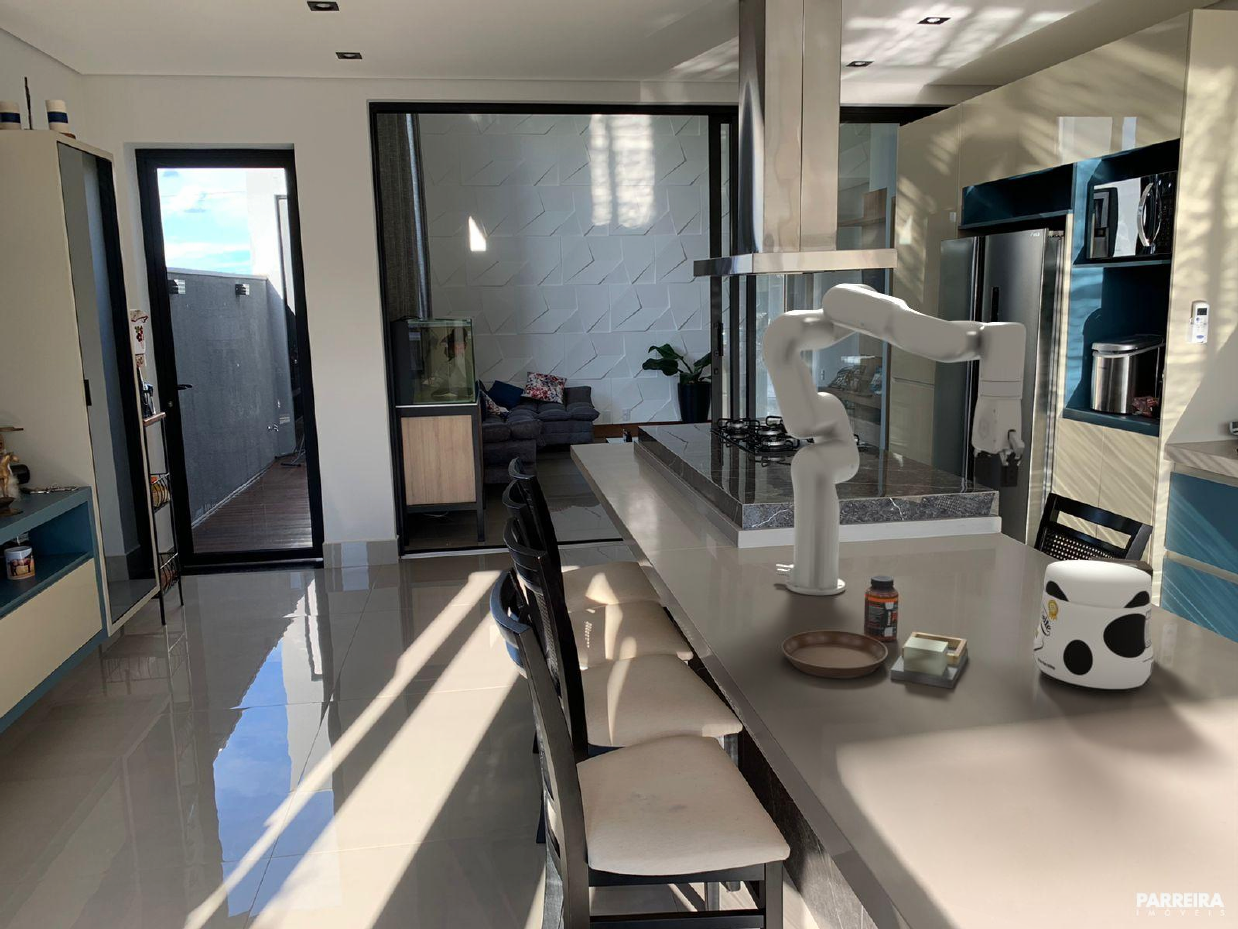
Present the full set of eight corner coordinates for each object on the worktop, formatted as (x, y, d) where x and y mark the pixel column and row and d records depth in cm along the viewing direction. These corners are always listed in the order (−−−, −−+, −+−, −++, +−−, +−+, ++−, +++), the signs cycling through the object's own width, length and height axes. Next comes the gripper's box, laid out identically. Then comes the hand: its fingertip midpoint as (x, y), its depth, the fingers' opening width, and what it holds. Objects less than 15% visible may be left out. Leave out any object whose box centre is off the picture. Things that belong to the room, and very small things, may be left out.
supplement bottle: (898, 643, 170) (900, 583, 169) (864, 641, 172) (866, 581, 170) (895, 632, 176) (897, 574, 174) (862, 630, 177) (864, 572, 176)
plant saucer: (805, 688, 152) (805, 670, 151) (766, 650, 169) (767, 634, 168) (906, 679, 155) (907, 661, 154) (858, 642, 172) (859, 626, 172)
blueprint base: (890, 678, 154) (891, 646, 154) (911, 647, 168) (912, 617, 167) (951, 688, 150) (953, 655, 149) (967, 656, 164) (969, 625, 163)
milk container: (1012, 662, 161) (1018, 560, 158) (1109, 658, 162) (1116, 556, 159) (1068, 704, 144) (1076, 590, 141) (1176, 698, 145) (1186, 585, 142)
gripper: (959, 386, 181) (954, 474, 184) (1004, 394, 164) (998, 491, 167) (996, 386, 182) (991, 473, 185) (1045, 394, 165) (1038, 490, 168)
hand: (994, 481), depth 176 cm, fingers open, 9 cm apart
